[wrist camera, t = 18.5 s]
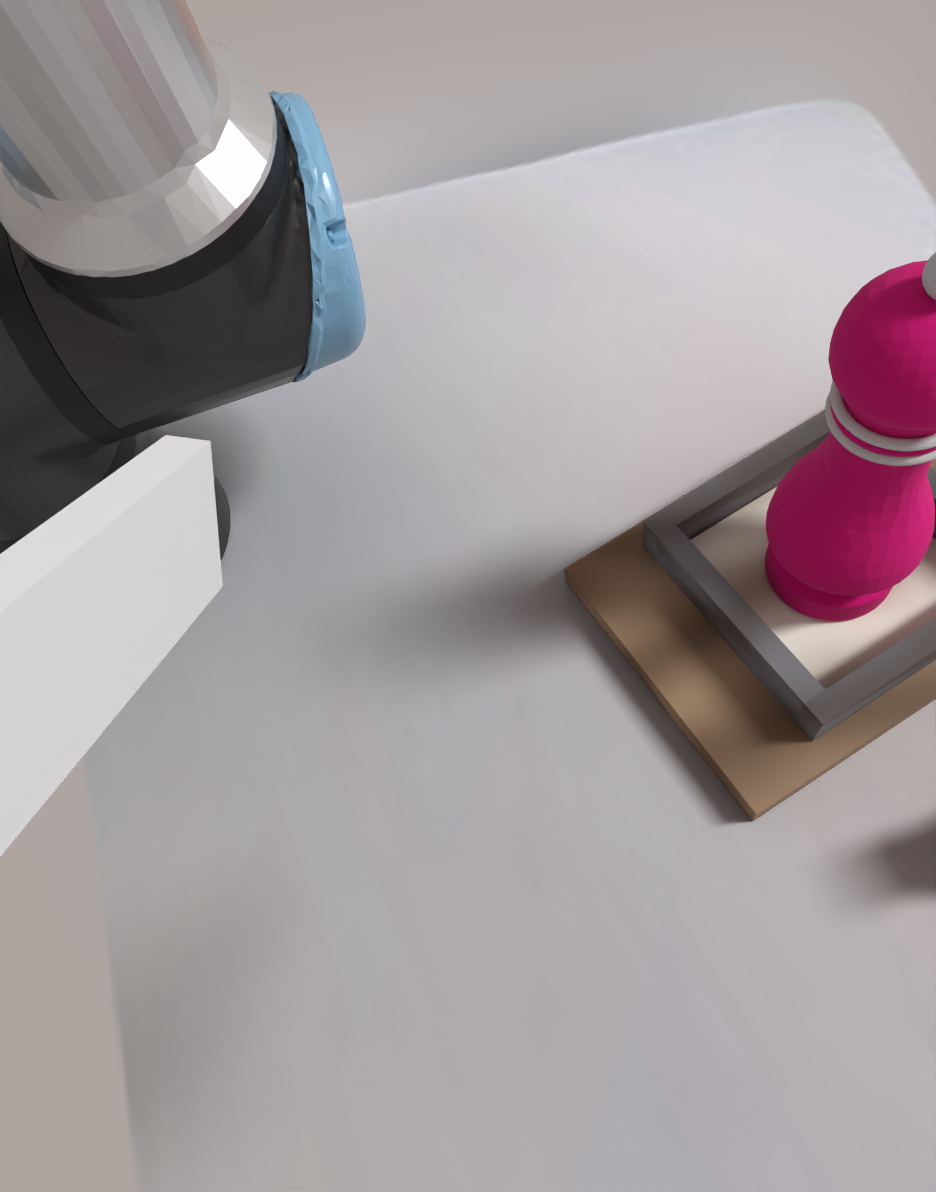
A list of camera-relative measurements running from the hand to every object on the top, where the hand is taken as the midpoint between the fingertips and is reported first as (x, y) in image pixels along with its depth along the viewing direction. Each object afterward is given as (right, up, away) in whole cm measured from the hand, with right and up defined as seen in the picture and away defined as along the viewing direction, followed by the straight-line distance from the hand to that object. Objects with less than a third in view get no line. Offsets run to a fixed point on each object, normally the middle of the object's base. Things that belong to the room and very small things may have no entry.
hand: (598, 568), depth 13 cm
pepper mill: (+17, +1, +30) cm, 34 cm away
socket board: (+17, 0, +31) cm, 35 cm away
